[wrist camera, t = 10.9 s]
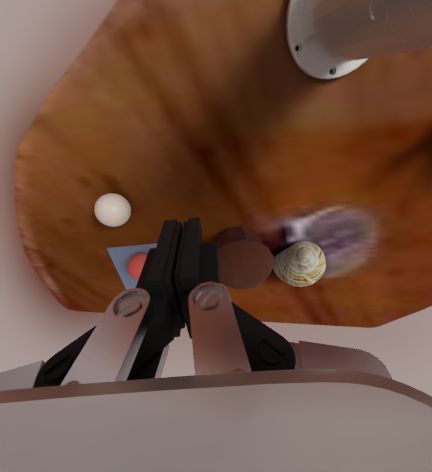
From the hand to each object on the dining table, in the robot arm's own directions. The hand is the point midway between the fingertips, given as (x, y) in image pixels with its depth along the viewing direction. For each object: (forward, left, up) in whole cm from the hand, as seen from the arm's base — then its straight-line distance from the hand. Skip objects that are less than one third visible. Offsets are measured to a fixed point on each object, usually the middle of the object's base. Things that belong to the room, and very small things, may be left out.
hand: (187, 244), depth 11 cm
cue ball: (+9, -16, -24) cm, 31 cm away
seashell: (+25, +17, -27) cm, 41 cm away
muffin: (+21, +5, -27) cm, 35 cm away
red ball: (+23, -15, -24) cm, 36 cm away
